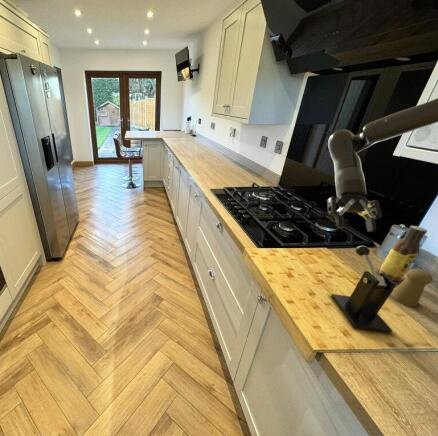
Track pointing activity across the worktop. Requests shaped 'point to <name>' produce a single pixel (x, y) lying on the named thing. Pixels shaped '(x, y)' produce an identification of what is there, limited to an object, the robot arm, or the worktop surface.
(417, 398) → the worktop surface
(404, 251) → the sauce bottle
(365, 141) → the robot arm
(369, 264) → the lever
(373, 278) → the bracket
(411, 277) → the cork
